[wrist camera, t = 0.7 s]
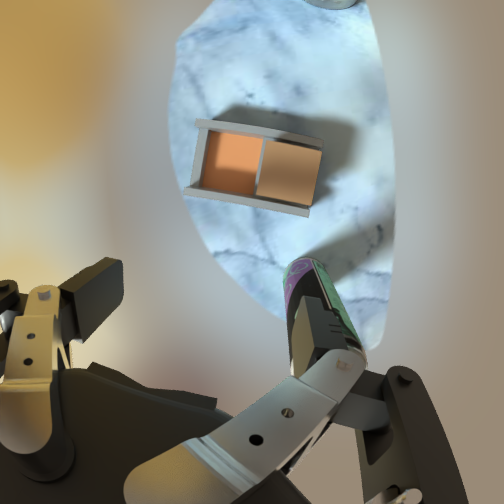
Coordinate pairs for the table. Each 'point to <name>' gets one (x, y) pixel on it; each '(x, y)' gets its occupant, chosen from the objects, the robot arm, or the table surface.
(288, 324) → the spray can
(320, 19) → the table surface
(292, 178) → the walnut block
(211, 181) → the channel
